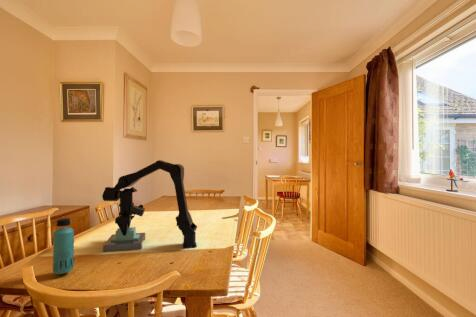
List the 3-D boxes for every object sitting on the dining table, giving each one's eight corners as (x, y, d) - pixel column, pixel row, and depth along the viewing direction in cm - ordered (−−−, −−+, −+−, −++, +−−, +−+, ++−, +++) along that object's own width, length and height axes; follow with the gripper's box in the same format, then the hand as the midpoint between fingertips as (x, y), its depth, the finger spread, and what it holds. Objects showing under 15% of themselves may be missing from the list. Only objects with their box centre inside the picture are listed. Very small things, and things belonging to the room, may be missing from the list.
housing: (110, 241, 117) (110, 231, 117) (113, 237, 123) (114, 228, 123) (138, 239, 120) (138, 229, 120) (139, 235, 126) (139, 226, 126)
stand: (141, 249, 116) (141, 242, 116) (103, 252, 112) (103, 245, 112) (145, 238, 131) (145, 232, 131) (112, 240, 128) (112, 234, 128)
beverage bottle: (57, 280, 86) (57, 222, 86) (48, 275, 90) (49, 219, 90) (77, 272, 92) (78, 218, 92) (68, 268, 95) (69, 216, 95)
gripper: (141, 204, 115) (141, 238, 115) (146, 197, 133) (145, 227, 133) (114, 205, 112) (114, 239, 112) (123, 198, 130) (123, 228, 130)
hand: (126, 233), depth 122 cm, fingers open, 7 cm apart
